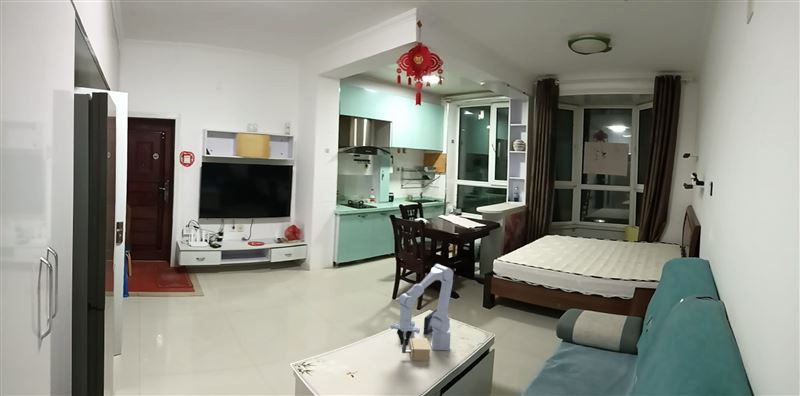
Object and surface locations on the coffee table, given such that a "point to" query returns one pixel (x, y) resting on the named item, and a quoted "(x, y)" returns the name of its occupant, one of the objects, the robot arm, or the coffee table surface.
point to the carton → (420, 349)
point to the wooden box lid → (409, 348)
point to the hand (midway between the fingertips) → (404, 344)
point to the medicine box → (412, 332)
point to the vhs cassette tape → (428, 323)
